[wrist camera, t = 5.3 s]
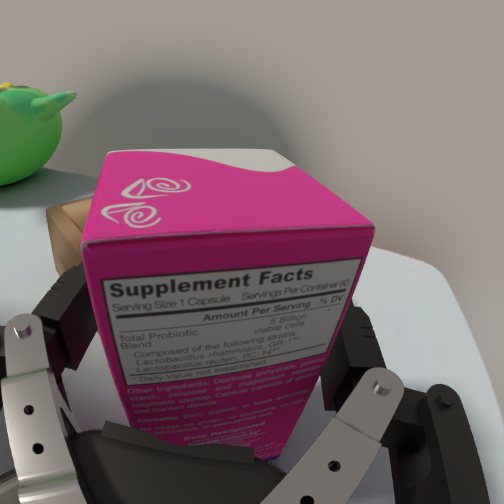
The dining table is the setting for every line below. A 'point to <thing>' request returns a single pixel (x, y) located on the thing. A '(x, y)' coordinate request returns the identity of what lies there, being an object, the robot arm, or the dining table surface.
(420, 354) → the dining table surface
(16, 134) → the toy bird
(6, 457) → the dining table surface
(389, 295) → the dining table surface
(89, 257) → the supplement box
